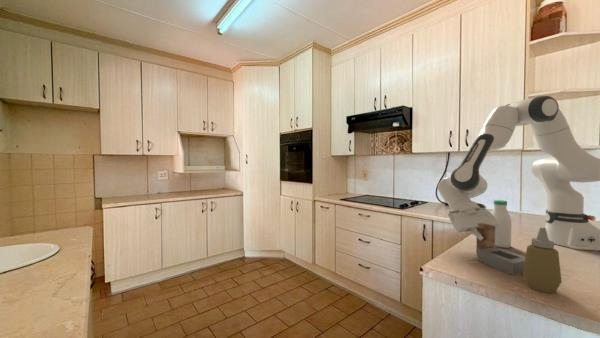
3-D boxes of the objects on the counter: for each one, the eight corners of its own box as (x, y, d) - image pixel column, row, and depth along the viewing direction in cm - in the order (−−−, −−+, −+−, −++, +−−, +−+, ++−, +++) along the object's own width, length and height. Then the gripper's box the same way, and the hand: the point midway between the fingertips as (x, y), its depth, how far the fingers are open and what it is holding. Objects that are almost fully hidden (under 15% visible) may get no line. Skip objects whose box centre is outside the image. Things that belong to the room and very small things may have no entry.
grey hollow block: (477, 260, 91) (477, 250, 90) (496, 257, 93) (497, 247, 93) (513, 275, 79) (513, 263, 79) (534, 271, 82) (534, 259, 82)
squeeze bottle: (566, 299, 65) (568, 233, 65) (526, 290, 70) (528, 229, 69) (555, 286, 72) (557, 226, 71) (519, 279, 76) (520, 223, 76)
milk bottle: (511, 249, 101) (512, 202, 101) (488, 245, 106) (489, 200, 105) (510, 244, 108) (511, 200, 107) (488, 241, 112) (489, 198, 111)
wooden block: (476, 252, 99) (476, 223, 98) (481, 251, 99) (482, 222, 99) (488, 257, 94) (489, 226, 93) (494, 256, 95) (495, 226, 94)
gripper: (450, 207, 100) (472, 237, 91) (487, 204, 105) (511, 232, 96) (441, 215, 104) (461, 245, 95) (477, 212, 110) (499, 240, 101)
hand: (487, 239), depth 96 cm, fingers closed on wooden block, 3 cm apart
